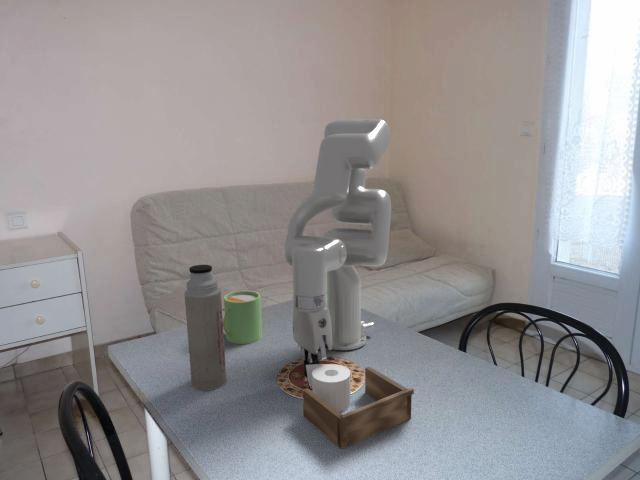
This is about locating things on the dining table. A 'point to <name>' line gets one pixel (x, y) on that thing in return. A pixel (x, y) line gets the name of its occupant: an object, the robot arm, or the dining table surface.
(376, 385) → the open wooden box
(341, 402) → the toilet paper
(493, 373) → the dining table surface
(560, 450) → the dining table surface
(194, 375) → the thermos bottle
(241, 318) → the mug
